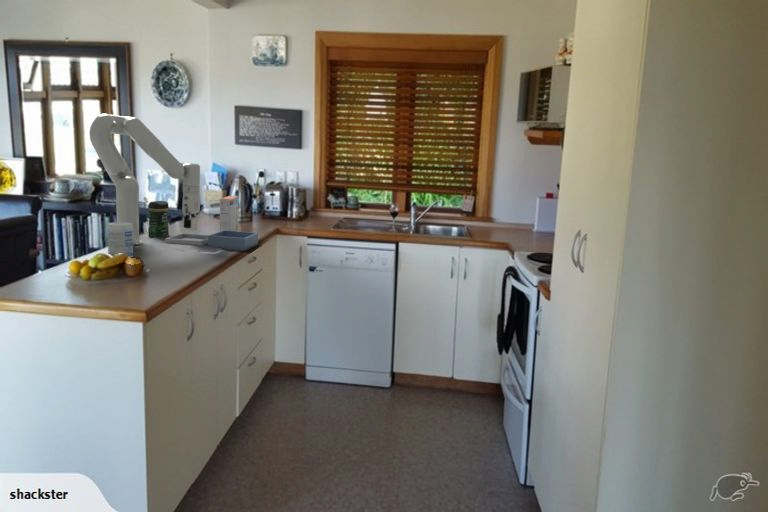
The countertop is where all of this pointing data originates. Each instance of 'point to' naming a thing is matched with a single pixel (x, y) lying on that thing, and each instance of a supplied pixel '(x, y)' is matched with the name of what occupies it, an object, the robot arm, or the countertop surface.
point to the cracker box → (229, 213)
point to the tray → (188, 239)
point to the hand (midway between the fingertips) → (189, 226)
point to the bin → (233, 240)
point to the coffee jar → (158, 219)
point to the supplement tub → (120, 238)
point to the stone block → (193, 224)
